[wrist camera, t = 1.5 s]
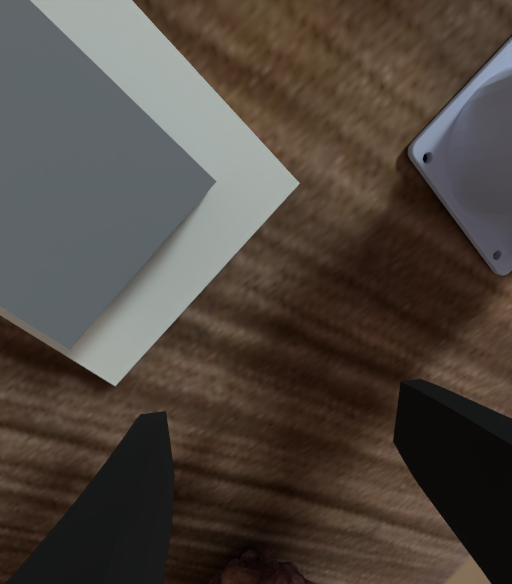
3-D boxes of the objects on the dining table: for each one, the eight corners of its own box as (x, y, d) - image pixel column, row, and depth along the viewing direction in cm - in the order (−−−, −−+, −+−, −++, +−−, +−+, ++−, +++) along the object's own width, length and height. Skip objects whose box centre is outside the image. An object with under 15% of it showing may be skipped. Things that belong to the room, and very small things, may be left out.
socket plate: (286, 185, 15) (299, 183, 13) (125, 363, 16) (115, 386, 14) (-139, -270, 9) (-229, -393, 7) (-337, 63, 10) (-457, 34, 8)
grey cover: (213, 185, 12) (216, 181, 9) (99, 315, 13) (69, 349, 10) (44, 22, 10) (-21, -49, 7) (-82, 191, 11) (-186, 189, 8)
